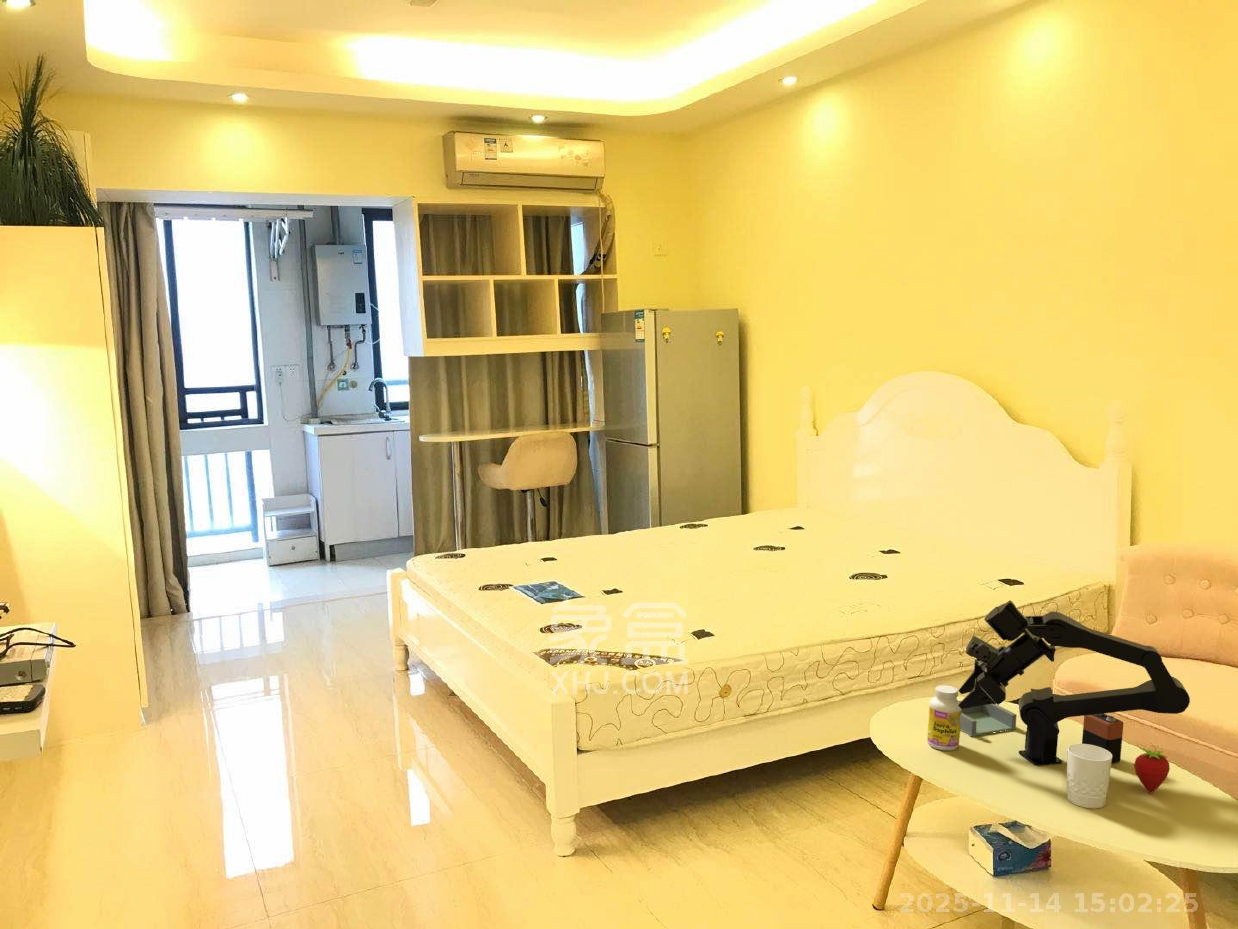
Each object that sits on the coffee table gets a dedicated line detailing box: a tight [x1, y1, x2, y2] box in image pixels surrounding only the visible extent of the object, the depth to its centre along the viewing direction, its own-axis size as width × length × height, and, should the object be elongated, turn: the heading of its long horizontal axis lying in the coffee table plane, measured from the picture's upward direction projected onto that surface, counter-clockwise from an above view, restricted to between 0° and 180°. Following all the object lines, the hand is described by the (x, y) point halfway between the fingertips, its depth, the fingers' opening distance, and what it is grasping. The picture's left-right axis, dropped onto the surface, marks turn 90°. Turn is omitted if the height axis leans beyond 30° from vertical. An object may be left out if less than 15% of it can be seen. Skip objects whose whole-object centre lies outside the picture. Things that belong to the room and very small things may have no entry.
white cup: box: [1066, 743, 1112, 810], centre depth 198 cm, size 8×8×10 cm
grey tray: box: [958, 700, 1017, 737], centre depth 235 cm, size 11×12×4 cm
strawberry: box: [1133, 742, 1171, 794], centre depth 202 cm, size 6×8×10 cm
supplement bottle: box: [926, 684, 962, 751], centre depth 222 cm, size 7×7×13 cm
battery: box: [1081, 713, 1124, 765], centre depth 217 cm, size 4×7×10 cm, turn 24°
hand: (959, 699), depth 221 cm, fingers open, 9 cm apart
